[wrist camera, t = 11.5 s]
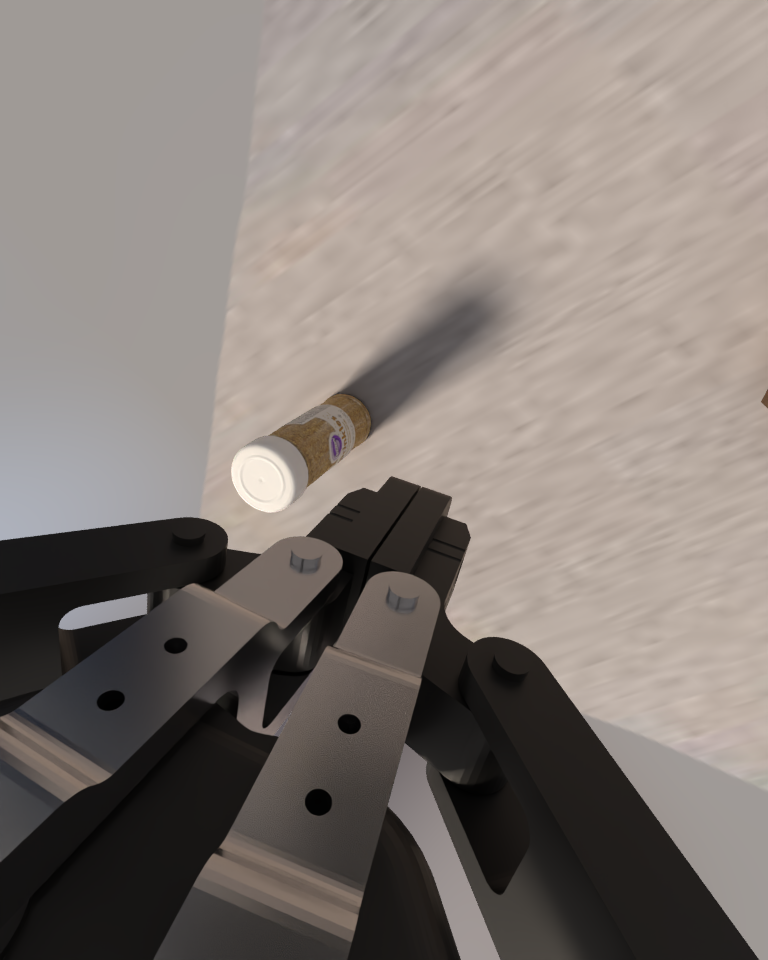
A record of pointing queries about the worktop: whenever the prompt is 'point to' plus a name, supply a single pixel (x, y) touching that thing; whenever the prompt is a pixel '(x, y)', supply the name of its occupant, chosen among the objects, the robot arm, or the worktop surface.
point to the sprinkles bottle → (299, 453)
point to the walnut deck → (765, 399)
